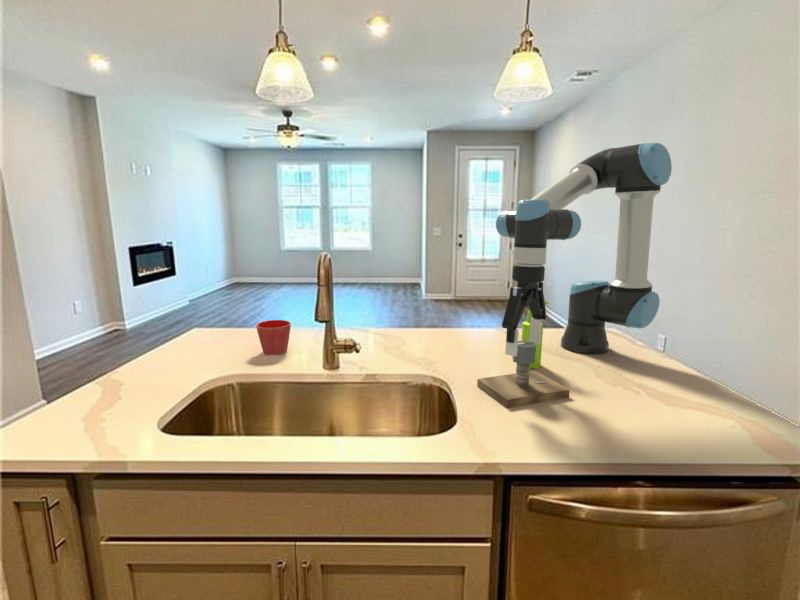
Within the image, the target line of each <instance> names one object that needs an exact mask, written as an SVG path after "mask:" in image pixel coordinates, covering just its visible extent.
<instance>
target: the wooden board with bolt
mask: <svg viewBox="0 0 800 600" xmlns="http://www.w3.org/2000/svg"><path fill="white" fill-rule="evenodd" d="M515 370H516V373H509V374H503V375H495V376H488V377H479V378H477V383H476V386H477V387H478V388H480V389H481V390H483V392H485V393H486V394H488V395H489V396H490V397H491V398H492V399H494V400H496V401H497V402H498V403H500V404H501V403H502V404H501V405H503V406H504V405H505V406H506V408H507V407H508V408H512V407H511V406H514V407H518V406H517V405H520V406H524V405H523V404H526V405H531V403H532V404H535V403H536V404H537V403H541V402H542V403H543V402H548V401H555V400H560V399H566V398H570V393H571V392H570V388H568V387H566V386H564V385H562V384H560V383H559V382H556V381H554V380H552V379H551V378H549V377H548V376H546V375H543V374H542V373H540V372H537V371H536V370H531V368H530V364H520V363H516V367H515ZM505 406H504V407H505Z"/></svg>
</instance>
